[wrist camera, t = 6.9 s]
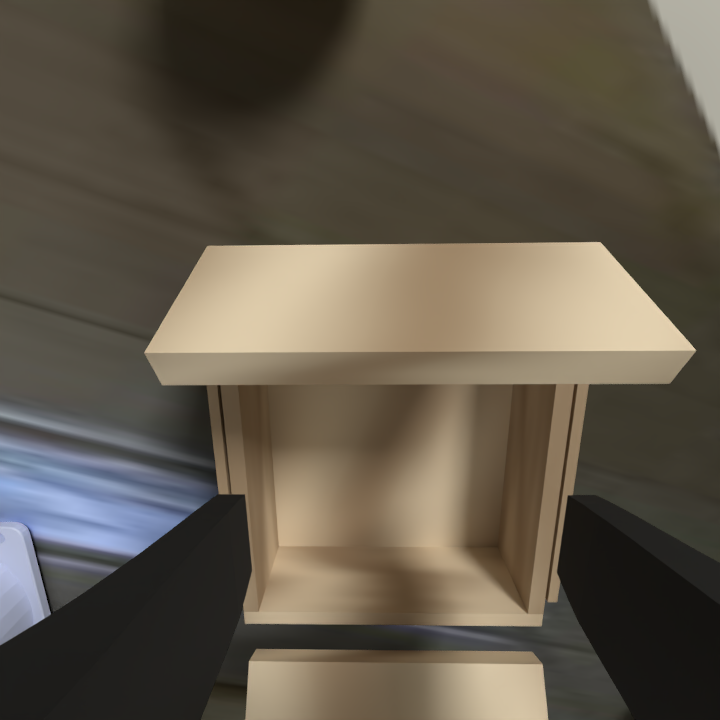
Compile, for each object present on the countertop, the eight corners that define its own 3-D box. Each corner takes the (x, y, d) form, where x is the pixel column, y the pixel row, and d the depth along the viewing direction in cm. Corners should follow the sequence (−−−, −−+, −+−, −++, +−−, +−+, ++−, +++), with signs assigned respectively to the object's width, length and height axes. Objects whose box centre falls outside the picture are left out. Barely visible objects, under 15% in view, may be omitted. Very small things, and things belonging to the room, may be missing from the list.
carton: (260, 549, 17) (233, 623, 13) (235, 259, 14) (192, 259, 10) (515, 550, 16) (553, 626, 13) (546, 256, 13) (607, 255, 10)
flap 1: (162, 384, 7) (144, 352, 6) (216, 275, 10) (207, 245, 9) (669, 383, 7) (695, 350, 6) (586, 272, 9) (600, 242, 9)
